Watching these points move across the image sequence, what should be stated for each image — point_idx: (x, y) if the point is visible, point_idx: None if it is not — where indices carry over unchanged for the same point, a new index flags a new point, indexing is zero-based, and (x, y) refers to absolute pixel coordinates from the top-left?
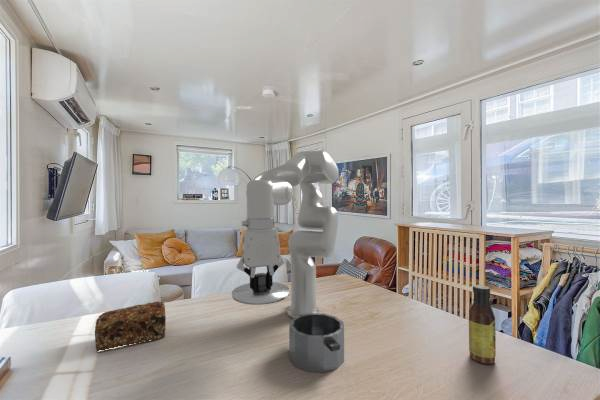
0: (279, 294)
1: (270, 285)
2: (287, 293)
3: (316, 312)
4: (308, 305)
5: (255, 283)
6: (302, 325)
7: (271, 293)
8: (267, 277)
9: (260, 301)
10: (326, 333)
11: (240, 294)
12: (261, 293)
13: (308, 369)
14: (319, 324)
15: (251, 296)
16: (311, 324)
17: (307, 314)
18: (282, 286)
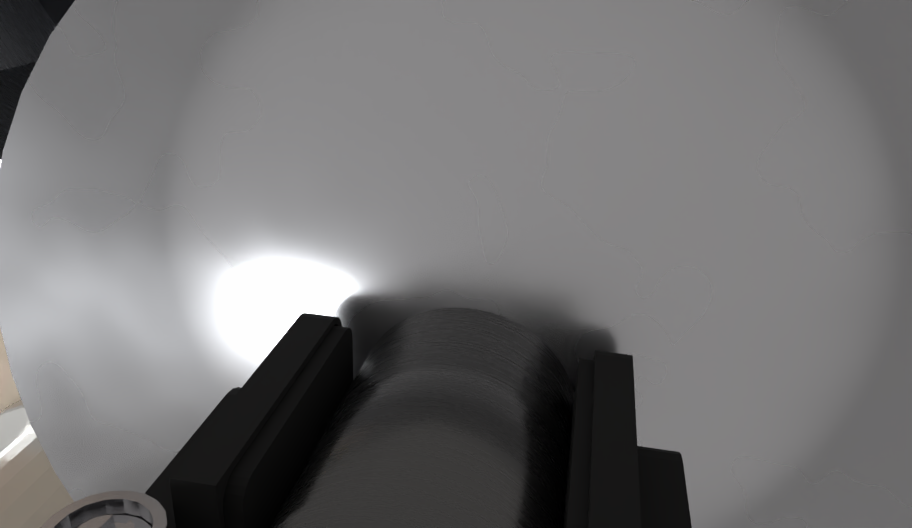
0: (212, 61)
1: (281, 352)
2: (60, 43)
3: (3, 434)
4: (16, 477)
5: (608, 451)
6: None
7: (338, 187)
8: (262, 524)
9: None
10: (3, 37)
11: (889, 421)
12: (510, 276)
13: None
14: (4, 96)
15: (748, 226)
16: None
17: None
18: (83, 394)
